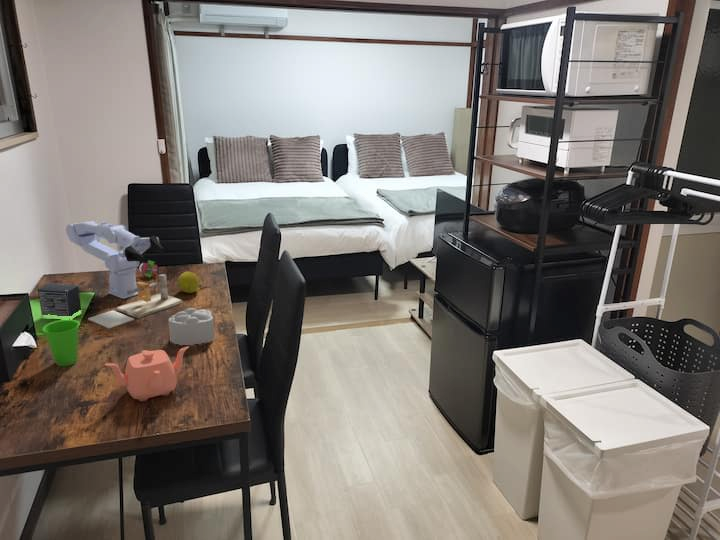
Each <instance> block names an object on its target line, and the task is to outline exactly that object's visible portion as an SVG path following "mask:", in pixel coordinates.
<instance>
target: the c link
mask: <svg viewBox="0 0 720 540" xmlns="http://www.w3.org/2000/svg"><path fill="white" fill-rule="evenodd" d="M149 284H150V283H149ZM149 284H148V283H146V282H143V281H139V282H136V287H137V288H139V287H143V288H144V290H141V291H138V295H137V298H138V300H144V301H145V302H149V301H151V296H152V295H151V288H150V285H149Z"/></svg>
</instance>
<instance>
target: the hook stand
mask: <svg viewBox="0 0 720 540" xmlns="http://www.w3.org/2000/svg"><path fill="white" fill-rule="evenodd" d="M158 280H159V281H155V282H153V283H149V285H150V289H151V288H153V287H157V286H159V291H160V293H157V294H153V295H151V301H149V302H145V301H144V300H140V299H138V300H135V301H132V302H129V303H126V304H122V305H120V306H117V307H116V310H117V311H118V312H120V313H121V312H122V313H124V314H127V315H128V316H132V317H133V318H136V319H141V318H143V317H146V316H148V315H152V314H154V313H158V312H161V311H163V310H166V309H168V308H172V307H174V306H177V305H180V304H182V303H183V299H181V298H177V297H174V296H171V295H169V294H168V283H167V274H159V275H158ZM141 290H143V291H144V288H143V287H139V288H136V289H133V290H129V291H127V294H132V293H135V292H138V291H141Z"/></svg>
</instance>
